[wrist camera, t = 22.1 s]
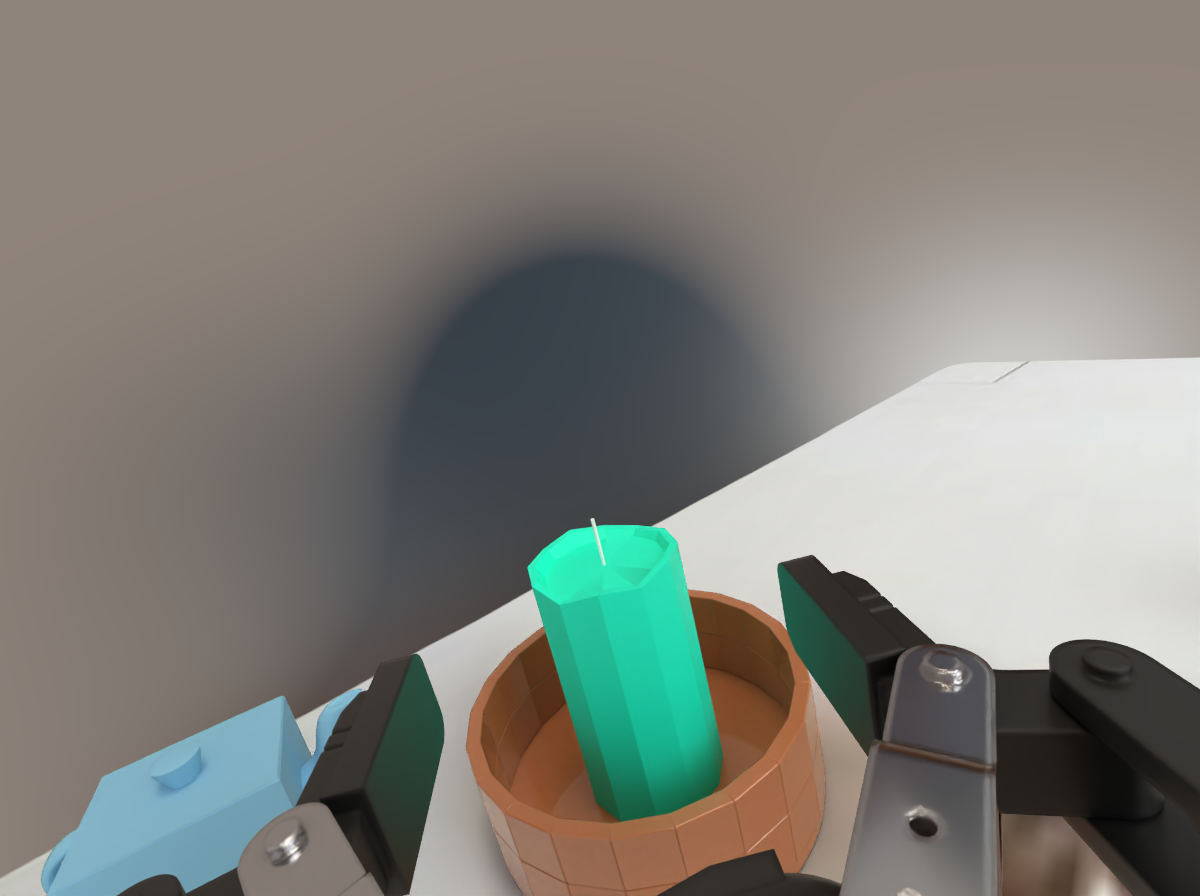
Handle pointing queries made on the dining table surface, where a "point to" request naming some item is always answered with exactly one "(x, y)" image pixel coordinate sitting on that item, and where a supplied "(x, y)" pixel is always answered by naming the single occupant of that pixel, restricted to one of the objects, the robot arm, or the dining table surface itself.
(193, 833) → the teapot
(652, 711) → the candle
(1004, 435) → the dining table surface
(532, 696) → the pot
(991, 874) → the robot arm
